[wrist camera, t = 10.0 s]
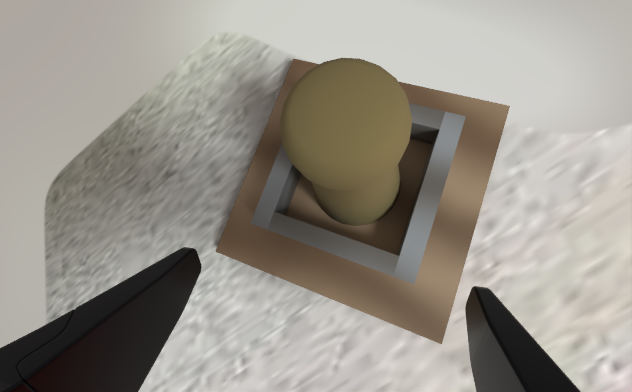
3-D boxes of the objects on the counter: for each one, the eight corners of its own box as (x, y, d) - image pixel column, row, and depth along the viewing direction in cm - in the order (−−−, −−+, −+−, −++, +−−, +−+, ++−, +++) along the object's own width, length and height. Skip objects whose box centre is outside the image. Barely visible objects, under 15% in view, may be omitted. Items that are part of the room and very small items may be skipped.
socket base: (438, 339, 19) (452, 356, 16) (222, 251, 23) (196, 250, 20) (503, 113, 21) (528, 85, 18) (296, 66, 25) (284, 36, 22)
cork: (420, 191, 20) (471, 115, 10) (346, 244, 20) (318, 225, 10) (365, 125, 22) (358, 0, 11) (297, 175, 22) (228, 96, 12)
